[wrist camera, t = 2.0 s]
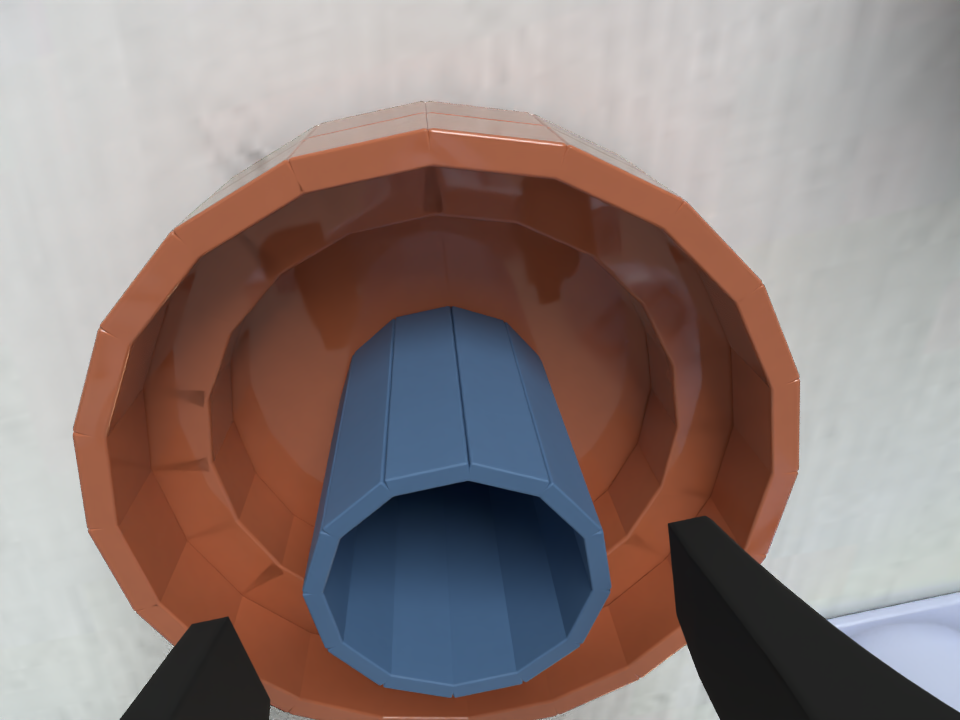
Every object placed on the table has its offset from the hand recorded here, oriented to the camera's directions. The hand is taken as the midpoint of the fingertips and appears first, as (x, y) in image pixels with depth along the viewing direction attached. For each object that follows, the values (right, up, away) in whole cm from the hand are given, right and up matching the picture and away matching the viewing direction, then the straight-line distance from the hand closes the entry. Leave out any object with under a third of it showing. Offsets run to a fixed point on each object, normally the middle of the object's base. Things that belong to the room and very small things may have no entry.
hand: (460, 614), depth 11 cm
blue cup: (-1, +3, +6) cm, 7 cm away
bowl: (-1, +3, +7) cm, 8 cm away
